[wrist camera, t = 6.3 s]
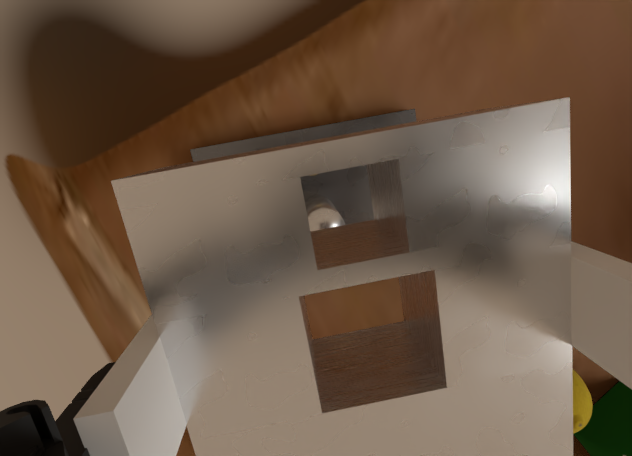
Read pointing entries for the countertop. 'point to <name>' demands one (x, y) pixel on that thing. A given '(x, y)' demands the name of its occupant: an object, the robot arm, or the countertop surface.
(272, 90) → the countertop surface
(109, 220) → the countertop surface
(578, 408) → the lemon
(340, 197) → the fixture
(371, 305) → the countertop surface
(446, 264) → the white boxy piece
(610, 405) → the milk carton
